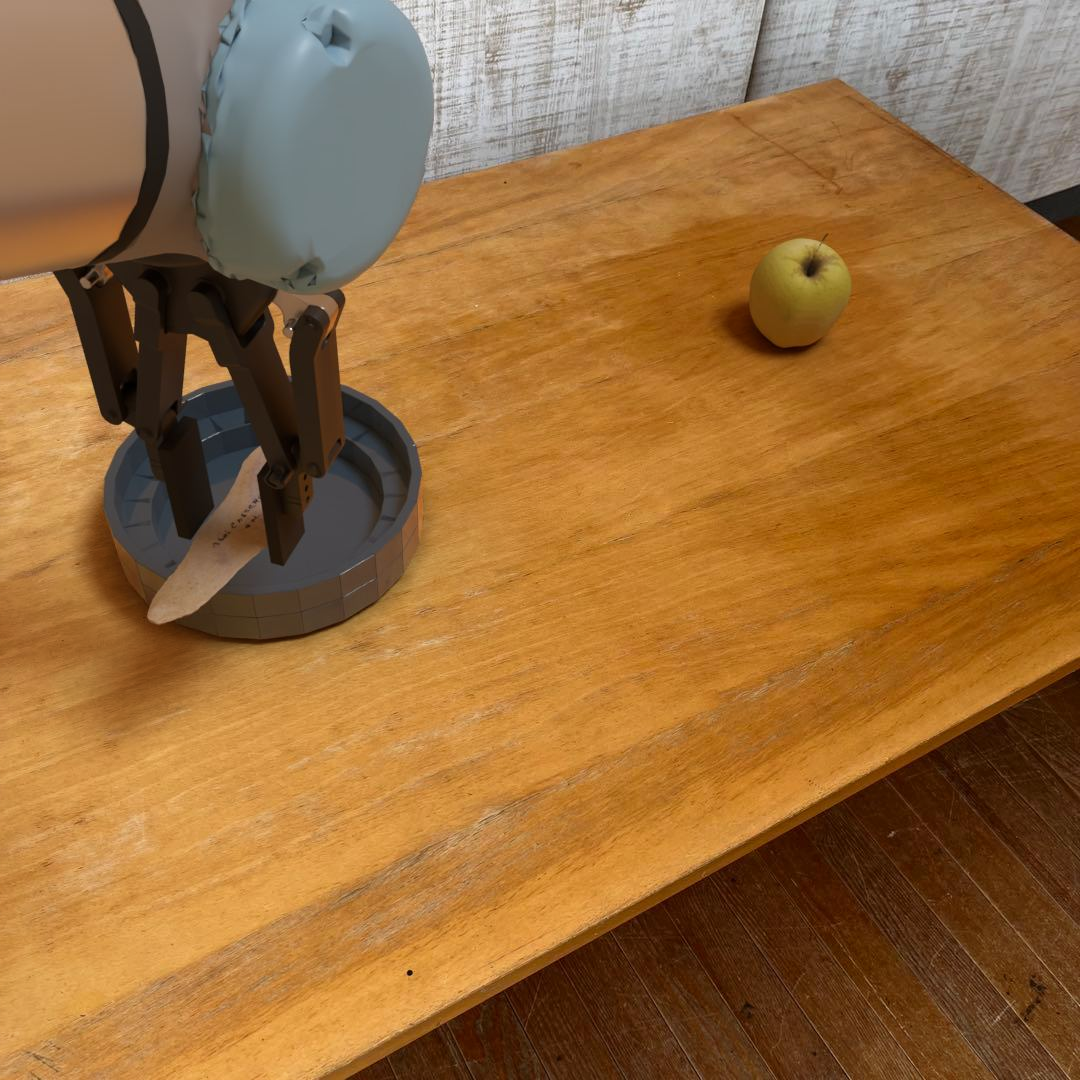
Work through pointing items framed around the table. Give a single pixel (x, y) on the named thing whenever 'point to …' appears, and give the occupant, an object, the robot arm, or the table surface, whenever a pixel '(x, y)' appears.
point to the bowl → (330, 519)
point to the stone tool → (216, 548)
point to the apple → (798, 292)
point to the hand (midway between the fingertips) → (241, 533)
